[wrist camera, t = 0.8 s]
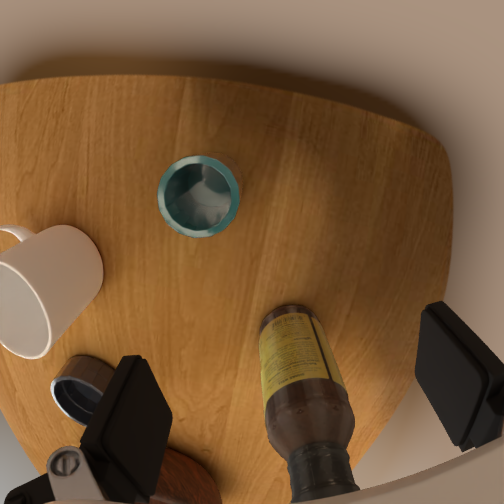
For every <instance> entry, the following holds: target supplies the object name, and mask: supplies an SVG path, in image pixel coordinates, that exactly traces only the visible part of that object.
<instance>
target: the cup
mask: <svg viewBox="0 0 504 504" xmlns="http://www.w3.org/2000/svg"><path fill="white" fill-rule="evenodd" d="M242 190H243V176H242V172H241V170H240V168H239V166H238V165H237V163H236V162H235V161H234V160H233V159H231V158H230V157H228V156H227V155H224V154H221V153H217V152H212V153H203V154H198V155H192V156H187V157H184V158H182V159H180V160H179V161H177V162H175V163H173V164H172V165H171V166H170V167H169V168H168V169H167V170H166V172H165V173H164V174H163V176H162V177H161V179H160V183H159V187H158V191H157V199H158V207H159V211H160V212H161V214H162V216H163V218H164V219H165V221H166V223H167V224H168V225H169V226H171V227H172V228H173V229H174V230H176V231H177V232H178V233H180V234H183V235H186V236H189V237H192V238H202V237H210V236H213V235H215V234H217V233H219V232H221V231H223V230H224V229H225V228H226V227H227V226H228V225H229V224H230V223H231V221H232V220H233V219H234V217H235V216H236V213H237V210H238V206H239V203H240V199H241V194H242Z"/></svg>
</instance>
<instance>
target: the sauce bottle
mask: <svg viewBox="0 0 504 504" xmlns="http://www.w3.org/2000/svg"><path fill="white" fill-rule="evenodd" d="M259 354H260V370H261V385H262V395H263V404H264V418H265V426H266V430H267V433H268V439H269V442H270V444H271V445H272V447H273V448H274V449H275V450H276V452H278V453H279V455H280V456H281V457H282V458H284V459H285V460H286V461H287V463H288V467H287V469H288V472H289V474H290V485H291V489H292V500H291V503H298V502H305V501H311V500H317V499H322V498H328V497H333V496H338V495H342V494H347V493H351V492H355V491H359V490H360V488H359V487H358V486H357V485H356V484H355V482H354V478H353V475H352V471H351V467H350V464H349V459H350V457H349V454H348V453H347V450H346V448H347V446H348V444H349V441H350V439H351V437H352V434H353V430H354V427H355V417H354V414H353V411H352V408H351V406H350V403H349V401H348V393H347V390H346V388H345V385H344V382H343V380H342V377H341V374H340V371H339V369H338V366H337V363H336V361H335V358H334V355H333V353H332V350H331V348H330V345H329V343H328V340H327V338H326V335H325V332H324V330H323V327H322V326H321V324H320V321H319V320H318V319H317V317H316V316H315V315H314V313H313V312H312V311H310V310H309V309H307V308H306V307H304V306H300V305H288V306H282V307H279V308H277V309H275V310H274V311H272V312H271V313H270V314H269V315H268V316H267V317H266V318H265V319H264V320H263V322H262V325H261V327H260V338H259Z"/></svg>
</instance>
